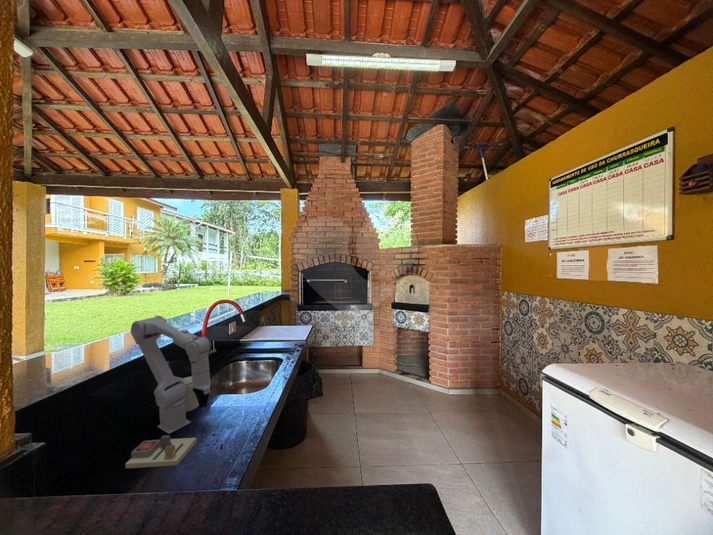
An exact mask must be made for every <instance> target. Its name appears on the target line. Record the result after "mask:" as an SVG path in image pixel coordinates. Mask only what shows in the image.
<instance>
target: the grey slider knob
mask: <svg viewBox="0 0 713 535" xmlns="http://www.w3.org/2000/svg"><path fill="white" fill-rule="evenodd" d="M170 439H171V434H166V435H165V434H164V435H162V436H161V437H160V440H161V446H160V448H165V447H166V446H167V445H171V444H172V442H171V440H170Z"/></svg>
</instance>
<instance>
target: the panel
mask: <svg viewBox="0 0 713 535" xmlns="http://www.w3.org/2000/svg"><path fill="white" fill-rule="evenodd" d="M170 440H171V442H172V444H171V445H175V453H177V454H176V456H175V457H174V458H171V459H164V457H165V448H160V446H161V439H150V440H143V441H142V442H141V443H140V444H139V445H138V446H137V447H135V448H134V449H133V450H132V451H131V452H130V455H131V456H130V459H129V460H128V461H126V463H125V464H124V465H125V469H138V468H139V469H140V468H141V469H142V468H157V467H169V466H172V467H173V466H178V465H179V464H180V462H182V460H183V459H184V458H185V457H186V455H187V454H188V453H189V452H190V451H191V449H192V448H193V447H194V446H195V445H196V443H197V442H198V438H197V437H184V438H182V437H181V438H170ZM147 442H153V446H152V447H151V448H150V449H149V450H145V451H140V446H141V445H143V444H144V443H147Z"/></svg>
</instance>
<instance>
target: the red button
mask: <svg viewBox="0 0 713 535" xmlns="http://www.w3.org/2000/svg"><path fill="white" fill-rule="evenodd" d="M152 446H153V442H147V443H144V444H143V445H141V446H140V451H145V450H149V449H150V448H151V447H152Z"/></svg>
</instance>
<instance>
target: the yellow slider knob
mask: <svg viewBox="0 0 713 535" xmlns="http://www.w3.org/2000/svg"><path fill="white" fill-rule="evenodd" d="M176 454H177V453H175V445H167V446H166V447H165V457H164V459H171V458H174V457H175V456H176Z"/></svg>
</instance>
